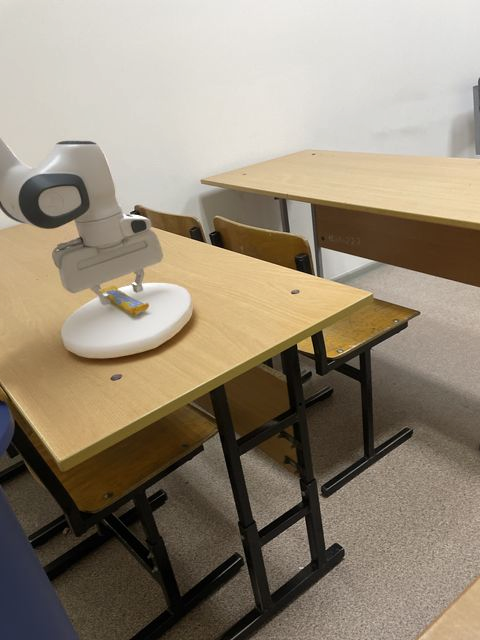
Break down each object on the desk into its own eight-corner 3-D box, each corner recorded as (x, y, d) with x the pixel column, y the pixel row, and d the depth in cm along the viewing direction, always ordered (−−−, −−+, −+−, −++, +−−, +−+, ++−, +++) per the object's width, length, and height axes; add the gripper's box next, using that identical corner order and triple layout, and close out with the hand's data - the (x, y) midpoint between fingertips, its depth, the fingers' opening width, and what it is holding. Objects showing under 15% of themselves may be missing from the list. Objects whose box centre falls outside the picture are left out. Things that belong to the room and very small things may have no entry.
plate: (167, 339, 93) (31, 348, 98) (176, 369, 96) (45, 375, 102) (202, 265, 115) (90, 276, 120) (208, 291, 119) (100, 300, 124)
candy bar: (152, 310, 102) (150, 302, 101) (133, 318, 100) (130, 310, 99) (116, 291, 114) (114, 283, 113) (98, 298, 112) (95, 289, 111)
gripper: (54, 250, 92) (78, 320, 99) (157, 217, 102) (173, 283, 109) (43, 244, 97) (67, 312, 103) (143, 213, 106) (159, 277, 113)
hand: (122, 297), depth 106 cm, fingers open, 6 cm apart
